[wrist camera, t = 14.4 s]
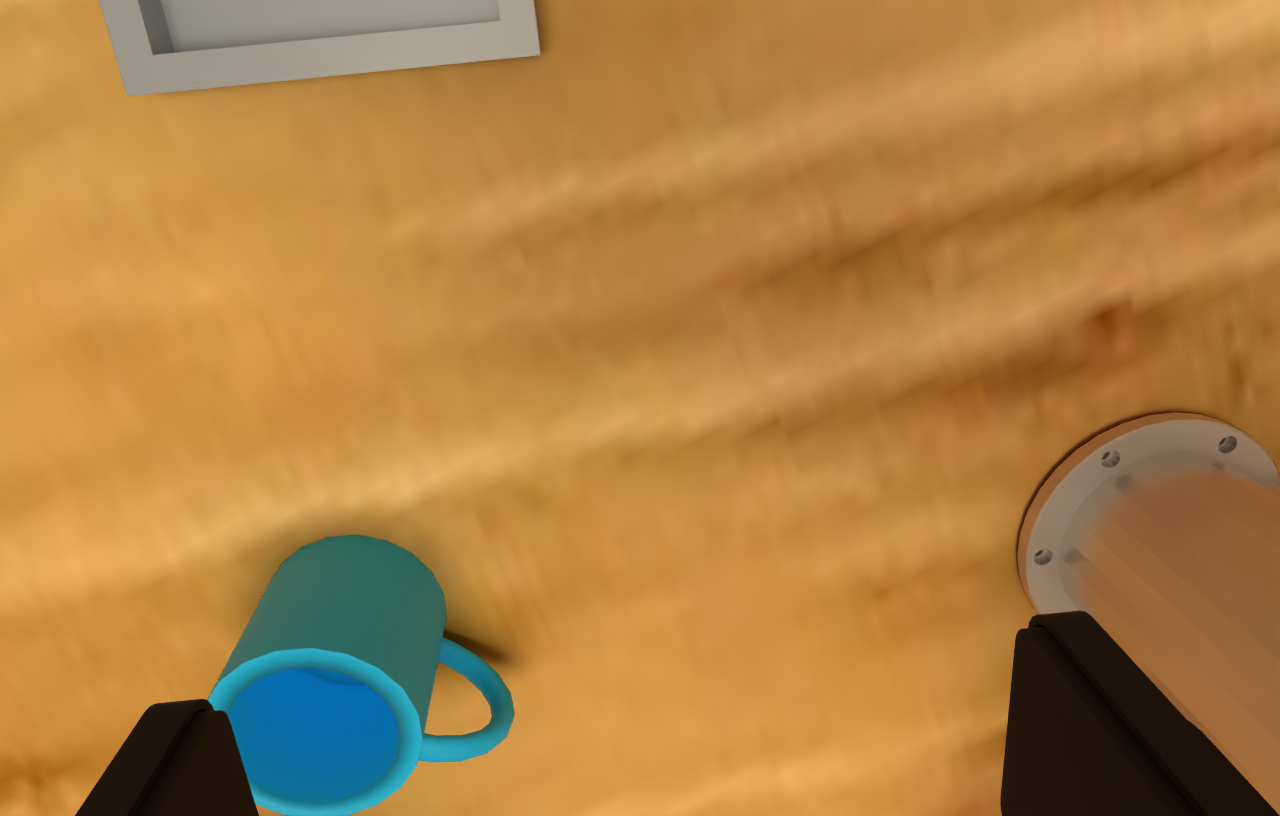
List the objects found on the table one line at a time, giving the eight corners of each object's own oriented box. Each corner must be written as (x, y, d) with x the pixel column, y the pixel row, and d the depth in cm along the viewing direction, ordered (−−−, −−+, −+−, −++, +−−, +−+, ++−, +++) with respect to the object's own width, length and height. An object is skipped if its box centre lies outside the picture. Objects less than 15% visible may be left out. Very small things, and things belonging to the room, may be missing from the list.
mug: (243, 653, 42) (174, 786, 34) (296, 509, 39) (234, 620, 32) (486, 724, 44) (471, 862, 37) (549, 594, 42) (548, 714, 34)
